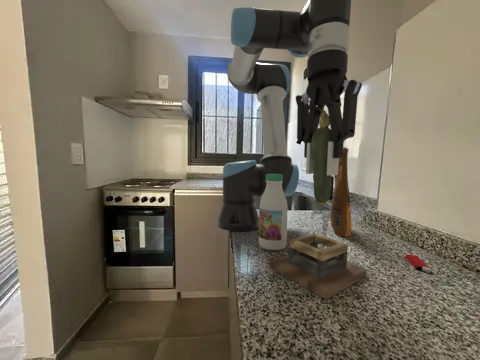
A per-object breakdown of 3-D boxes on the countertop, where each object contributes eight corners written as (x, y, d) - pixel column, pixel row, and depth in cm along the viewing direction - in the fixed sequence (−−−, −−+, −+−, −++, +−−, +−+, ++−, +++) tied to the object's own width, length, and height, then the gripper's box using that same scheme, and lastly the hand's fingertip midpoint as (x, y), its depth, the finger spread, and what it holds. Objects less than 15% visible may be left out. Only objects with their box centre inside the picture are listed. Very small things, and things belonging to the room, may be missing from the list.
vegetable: (332, 208, 44) (338, 105, 43) (309, 207, 45) (314, 105, 44) (328, 204, 49) (333, 110, 47) (307, 203, 50) (311, 110, 48)
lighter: (418, 255, 56) (434, 270, 48) (418, 260, 56) (433, 276, 48) (405, 254, 56) (418, 268, 49) (404, 258, 57) (417, 273, 49)
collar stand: (270, 266, 50) (271, 238, 50) (310, 252, 58) (311, 228, 58) (325, 299, 39) (327, 263, 38) (366, 276, 47) (368, 245, 46)
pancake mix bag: (331, 238, 69) (336, 146, 67) (324, 221, 88) (328, 149, 85) (355, 240, 67) (361, 146, 65) (343, 223, 86) (347, 149, 83)
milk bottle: (269, 238, 68) (271, 172, 66) (291, 246, 63) (294, 174, 61) (252, 245, 63) (254, 173, 61) (275, 253, 57) (277, 175, 55)
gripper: (281, 66, 49) (278, 172, 51) (362, 29, 35) (352, 178, 37) (304, 73, 54) (300, 171, 56) (383, 44, 39) (374, 176, 42)
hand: (321, 174), depth 46 cm, fingers closed on vegetable, 4 cm apart
